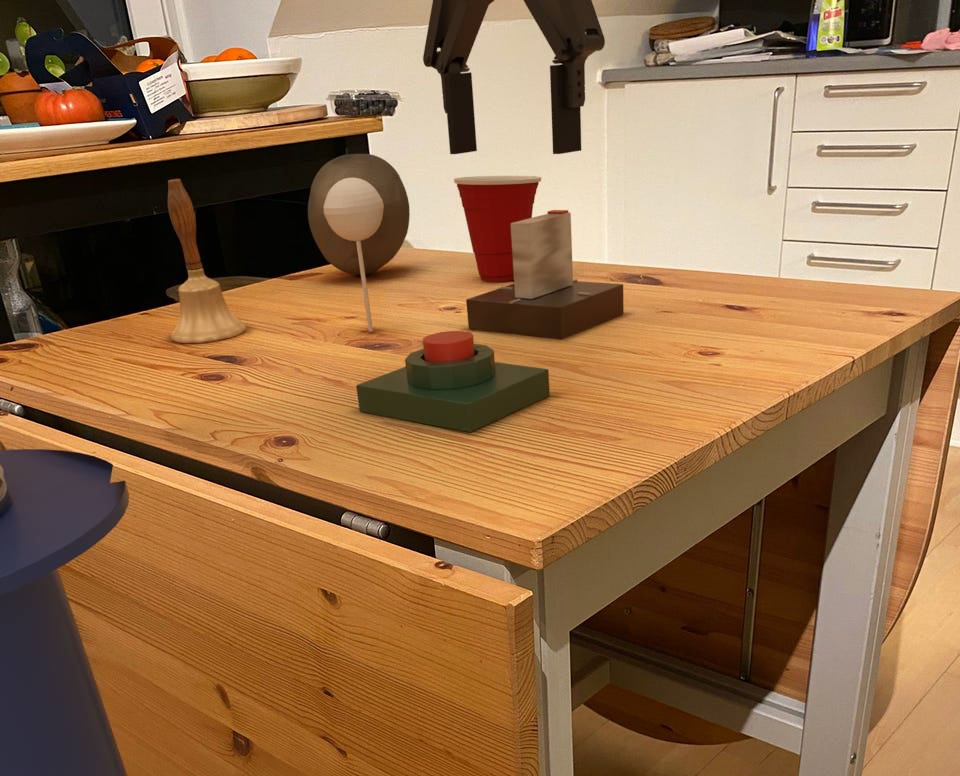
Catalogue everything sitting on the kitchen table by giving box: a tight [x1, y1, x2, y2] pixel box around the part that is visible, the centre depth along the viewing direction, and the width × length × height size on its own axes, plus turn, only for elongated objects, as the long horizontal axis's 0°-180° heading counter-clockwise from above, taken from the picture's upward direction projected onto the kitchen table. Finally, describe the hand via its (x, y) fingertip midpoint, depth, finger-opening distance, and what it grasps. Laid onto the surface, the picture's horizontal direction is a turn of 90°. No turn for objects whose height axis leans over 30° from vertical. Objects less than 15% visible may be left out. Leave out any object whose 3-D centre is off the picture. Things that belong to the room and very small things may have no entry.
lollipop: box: [324, 178, 384, 333], centre depth 101 cm, size 6×6×15 cm
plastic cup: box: [453, 175, 543, 283], centre depth 122 cm, size 11×11×12 cm
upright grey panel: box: [511, 209, 574, 299], centre depth 99 cm, size 7×2×7 cm, turn 140°
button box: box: [355, 343, 551, 433], centre depth 79 cm, size 12×10×4 cm
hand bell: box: [167, 178, 247, 344], centre depth 107 cm, size 8×8×16 cm
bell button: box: [422, 330, 475, 363], centre depth 78 cm, size 4×4×2 cm
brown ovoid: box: [307, 153, 411, 276], centre depth 131 cm, size 14×14×15 cm
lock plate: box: [465, 278, 625, 340], centre depth 101 cm, size 12×11×3 cm
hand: (512, 153), depth 88 cm, fingers open, 13 cm apart
